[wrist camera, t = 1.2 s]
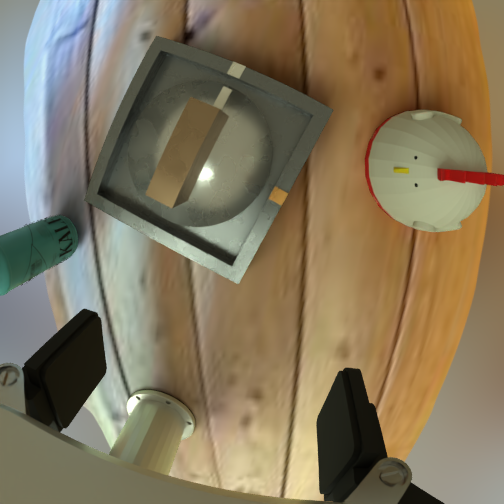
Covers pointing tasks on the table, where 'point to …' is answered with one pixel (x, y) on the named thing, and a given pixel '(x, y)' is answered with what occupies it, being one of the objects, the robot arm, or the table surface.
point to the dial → (200, 153)
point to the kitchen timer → (427, 170)
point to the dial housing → (276, 186)
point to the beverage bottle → (35, 250)
